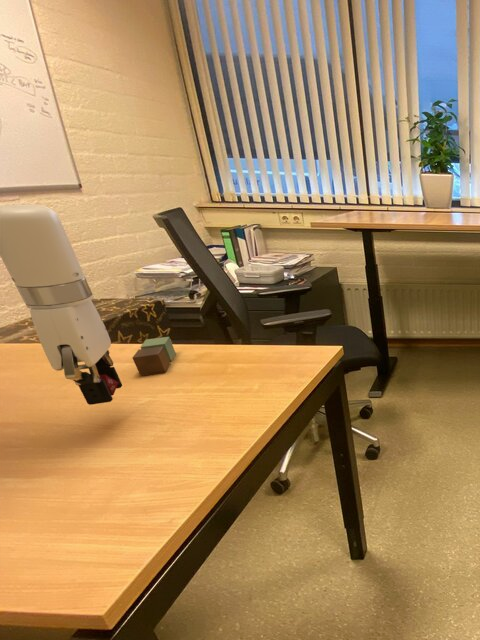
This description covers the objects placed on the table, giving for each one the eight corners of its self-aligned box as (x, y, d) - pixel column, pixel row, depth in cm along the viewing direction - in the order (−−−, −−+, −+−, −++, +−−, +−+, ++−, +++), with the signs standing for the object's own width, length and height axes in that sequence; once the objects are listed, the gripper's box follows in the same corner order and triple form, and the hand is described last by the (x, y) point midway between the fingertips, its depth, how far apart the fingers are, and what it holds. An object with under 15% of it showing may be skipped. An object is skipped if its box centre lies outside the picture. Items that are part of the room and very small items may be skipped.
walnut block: (140, 376, 90) (132, 357, 88) (146, 367, 93) (138, 349, 91) (165, 372, 91) (157, 354, 89) (170, 364, 95) (163, 346, 93)
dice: (89, 395, 72) (79, 375, 70) (123, 388, 75) (114, 368, 73) (89, 404, 69) (78, 384, 68) (123, 396, 72) (114, 376, 70)
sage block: (148, 364, 95) (140, 346, 92) (153, 357, 98) (145, 339, 96) (171, 361, 96) (164, 343, 94) (176, 353, 100) (169, 336, 98)
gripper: (50, 280, 69) (96, 377, 77) (-8, 312, 55) (56, 426, 64) (107, 276, 72) (146, 371, 80) (65, 307, 58) (117, 416, 67)
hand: (105, 394), depth 72 cm, fingers closed on dice, 4 cm apart
